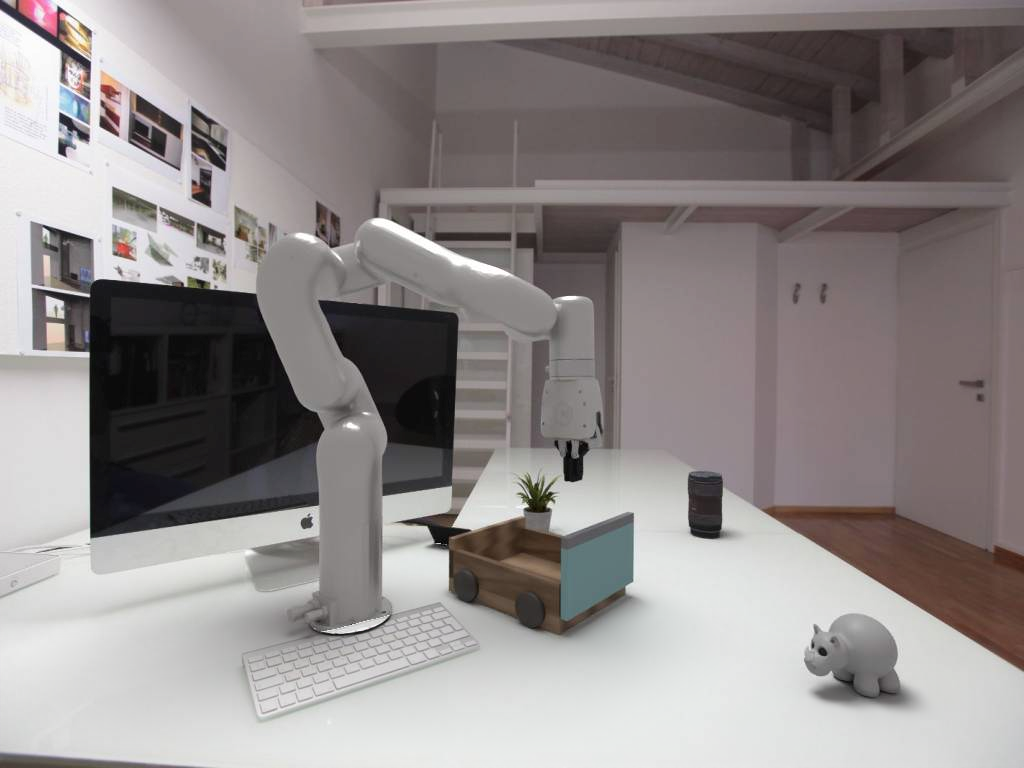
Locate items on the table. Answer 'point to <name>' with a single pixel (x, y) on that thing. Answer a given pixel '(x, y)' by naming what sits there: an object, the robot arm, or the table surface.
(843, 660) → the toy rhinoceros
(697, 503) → the camera lens
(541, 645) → the table surface
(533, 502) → the house plant
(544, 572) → the hand cart
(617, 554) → the panel
